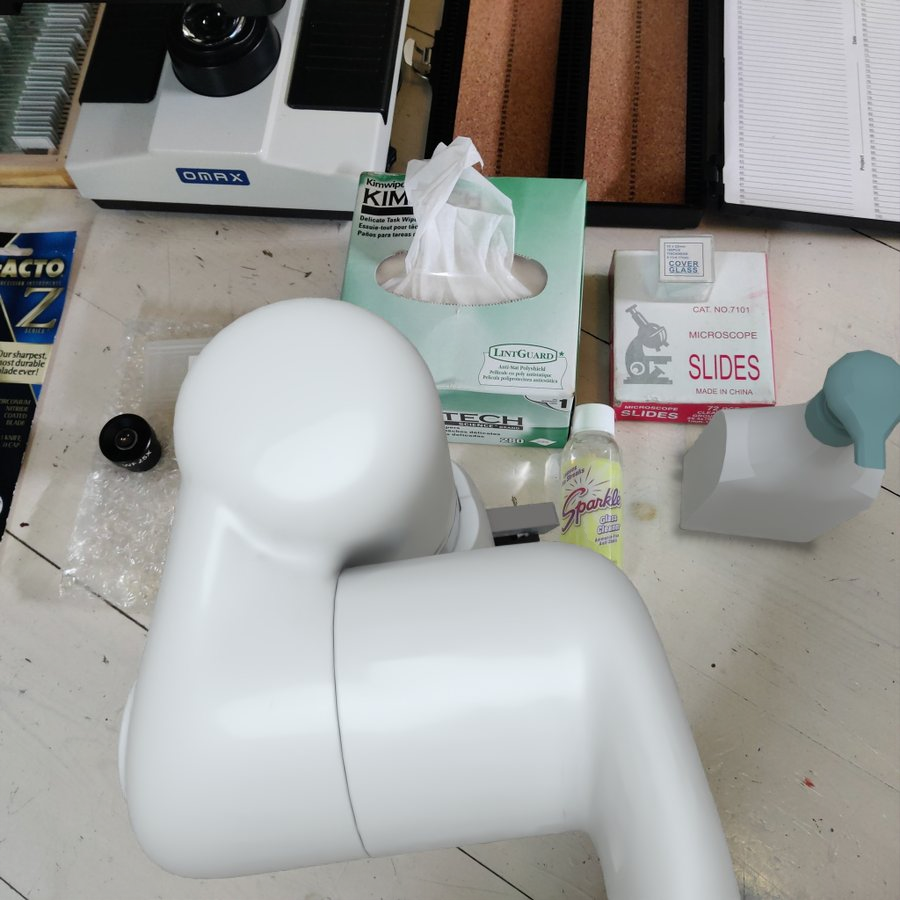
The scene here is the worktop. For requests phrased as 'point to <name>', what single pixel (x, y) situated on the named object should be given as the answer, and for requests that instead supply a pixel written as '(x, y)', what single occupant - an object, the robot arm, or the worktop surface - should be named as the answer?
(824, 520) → the soap bottle
